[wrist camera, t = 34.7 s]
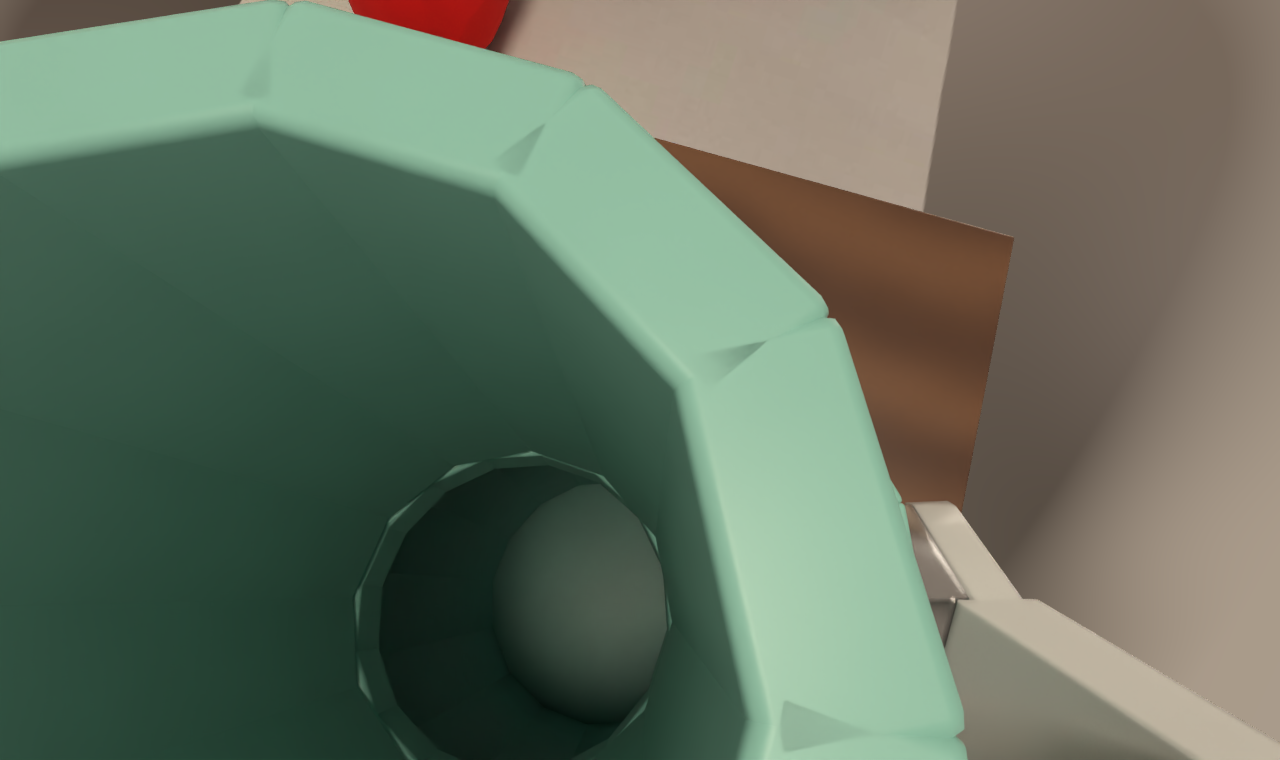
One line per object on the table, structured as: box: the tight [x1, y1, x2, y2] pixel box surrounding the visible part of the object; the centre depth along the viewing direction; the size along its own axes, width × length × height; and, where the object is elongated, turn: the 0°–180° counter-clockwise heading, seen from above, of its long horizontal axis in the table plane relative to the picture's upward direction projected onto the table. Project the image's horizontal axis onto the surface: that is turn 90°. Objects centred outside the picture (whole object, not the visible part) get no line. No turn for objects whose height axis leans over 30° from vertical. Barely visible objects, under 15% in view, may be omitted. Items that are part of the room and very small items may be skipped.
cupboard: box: [654, 138, 1014, 512], centre depth 35 cm, size 18×24×24 cm
